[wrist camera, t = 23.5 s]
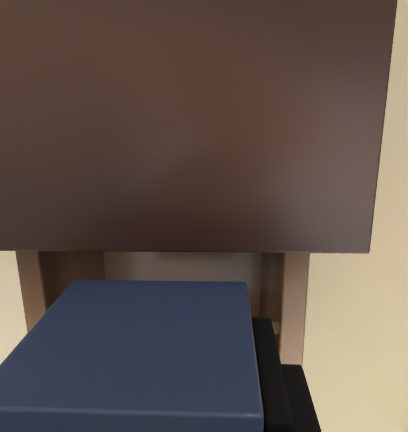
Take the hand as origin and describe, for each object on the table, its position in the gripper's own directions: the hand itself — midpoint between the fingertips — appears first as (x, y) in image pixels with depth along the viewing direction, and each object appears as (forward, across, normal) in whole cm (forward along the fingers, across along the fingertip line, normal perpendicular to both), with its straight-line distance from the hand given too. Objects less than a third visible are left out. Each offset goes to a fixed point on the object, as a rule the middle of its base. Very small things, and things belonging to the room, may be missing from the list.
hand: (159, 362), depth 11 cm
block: (0, 0, 0) cm, 0 cm away
